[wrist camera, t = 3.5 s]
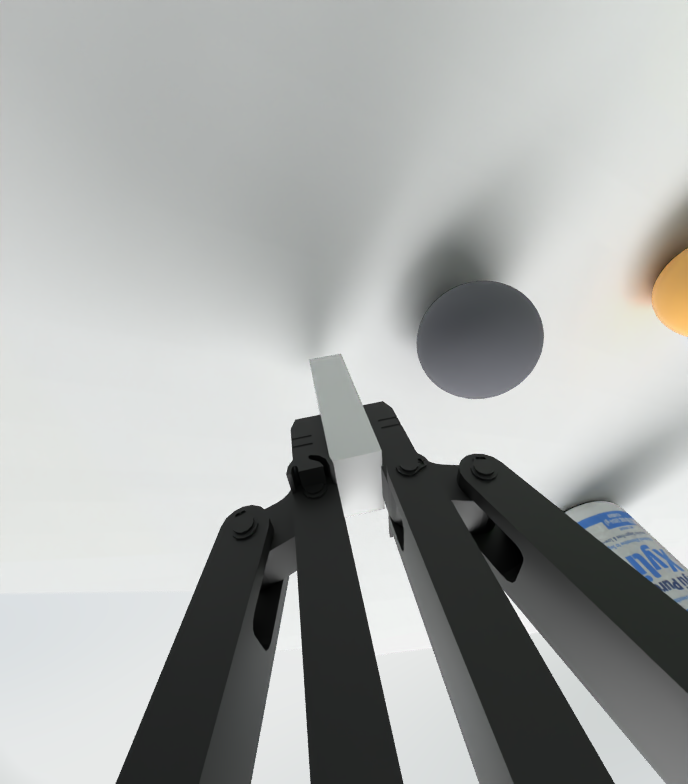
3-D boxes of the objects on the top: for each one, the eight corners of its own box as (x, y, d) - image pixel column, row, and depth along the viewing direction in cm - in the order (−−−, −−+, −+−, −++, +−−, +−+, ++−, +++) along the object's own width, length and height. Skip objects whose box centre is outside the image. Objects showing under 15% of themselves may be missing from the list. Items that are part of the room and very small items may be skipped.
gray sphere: (382, 317, 16) (425, 367, 12) (472, 244, 15) (559, 268, 10) (429, 382, 19) (478, 441, 15) (508, 324, 18) (587, 370, 13)
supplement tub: (609, 483, 31) (829, 674, 18) (618, 519, 36) (796, 688, 24) (521, 531, 32) (669, 733, 20) (542, 559, 38) (670, 734, 26)
